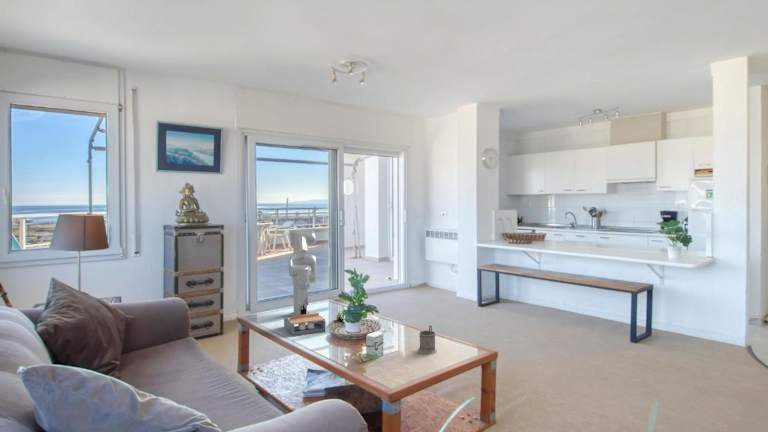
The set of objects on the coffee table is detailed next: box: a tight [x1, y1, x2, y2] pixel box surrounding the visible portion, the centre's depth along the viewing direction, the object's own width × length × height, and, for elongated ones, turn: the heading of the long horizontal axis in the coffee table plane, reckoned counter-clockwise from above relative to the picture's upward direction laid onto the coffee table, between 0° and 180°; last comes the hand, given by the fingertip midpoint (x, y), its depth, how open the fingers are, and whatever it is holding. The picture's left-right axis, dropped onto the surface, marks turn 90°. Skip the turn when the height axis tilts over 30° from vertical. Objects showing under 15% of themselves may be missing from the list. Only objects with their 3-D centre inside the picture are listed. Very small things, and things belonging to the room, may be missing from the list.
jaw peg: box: [297, 323, 306, 331], centre depth 255 cm, size 4×4×6 cm
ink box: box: [365, 330, 384, 361], centre depth 215 cm, size 9×5×12 cm, turn 143°
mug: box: [417, 324, 437, 355], centre depth 225 cm, size 14×10×12 cm
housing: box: [283, 315, 327, 337], centre depth 263 cm, size 23×20×7 cm
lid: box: [288, 312, 326, 325], centre depth 258 cm, size 10×20×3 cm, turn 116°
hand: (303, 315), depth 264 cm, fingers closed
